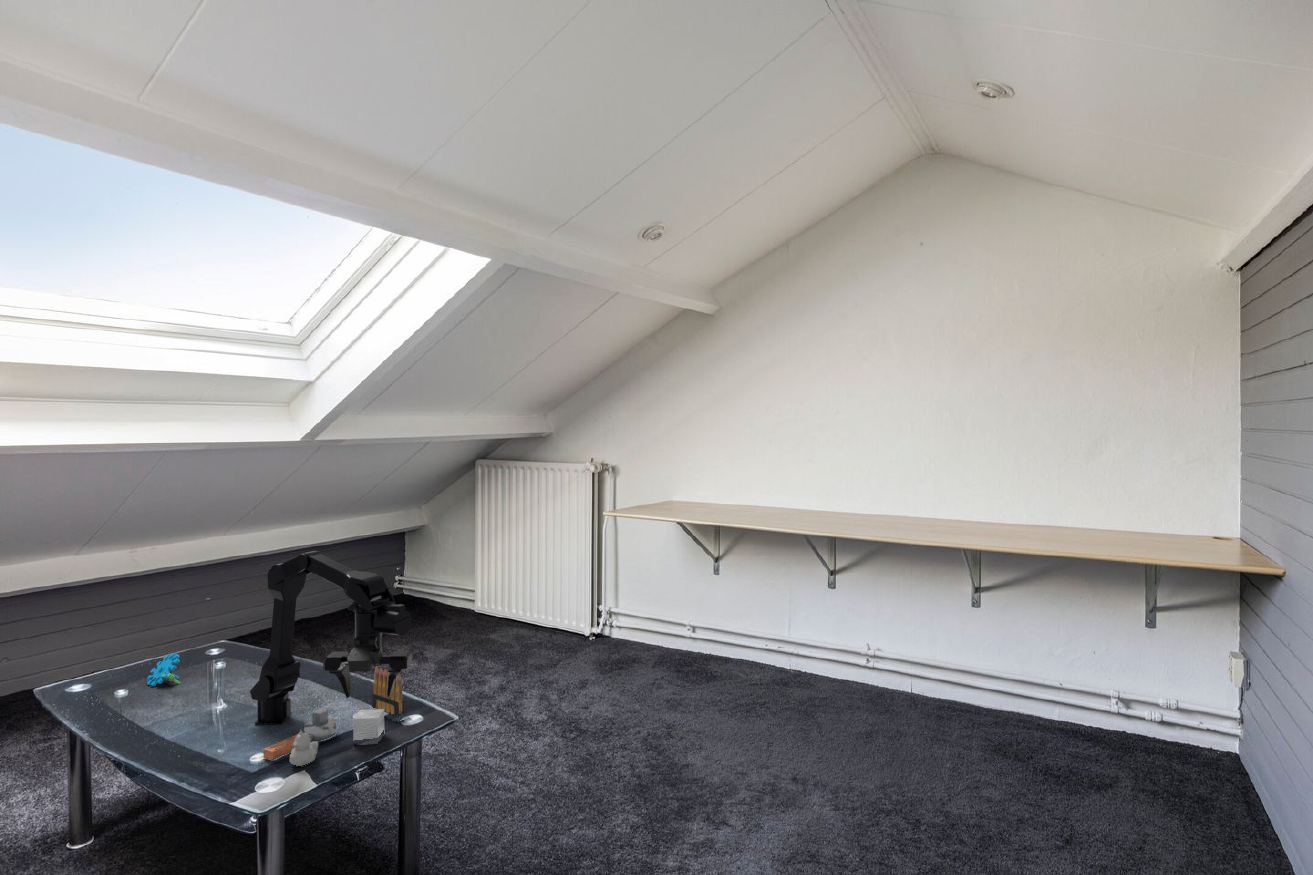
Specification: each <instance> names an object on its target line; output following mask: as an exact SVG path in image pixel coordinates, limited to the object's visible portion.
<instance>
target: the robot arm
mask: <svg viewBox="0 0 1313 875" xmlns="http://www.w3.org/2000/svg"><path fill="white" fill-rule="evenodd" d="M310 574H314V575H316V576H318V577H320V578H322V579H323V580H325V581H327V582H330V583H331V584H333V585H335V586H337V587H339V588H341V589H342V590H343V591H344V594H345V596H346V597H347V598H349V599H350V600H351V601H353V602H352V603H351V604H350V605H348V607H347V611H352V612H354V621H355V622H354V638H353V645H352V648H351V650H350V652H349V653H348V651H346V650H345V651H332V652H330V653H329V654H328V655H327V656H326V657H325V658H324V659H323V662H322V665H323V666H322V667H323V668H322V670H323V671H325V672H327V671H328V672H329V674H331V675H334V676H336V678H337V679H338V681H339V683H340V685H341V687H342V690H343V692H344V695H345V697H346V699H348V698H349V699H350V696H351V673H356V672H360V673H361V672H363V673H368V672H370V671H371V670H372V668H373V666H376V665H377V666H378V665H388V667H389V669H388V670H387V674H388V675H389V678H388V688H387V696H388V697H390V695H391V692H392V689H393V686H394V683H395V680H396V678H397V675H398V673H399V674H400V673H402V672H403V670H405V669H406V670H407V669H408V668H409V666H410V664H412V662H413V653H412V652H411V651H410V650H409V649H408V650H406V649H404V650H394V651H393V652H392V653H391V655H388V654H387V655H385V654H384V655H383V648H382V636H383V634H387V635H394V636H398V637H399V636H402V637H403V636H405V635H406V634H407V633H408V632H409V631H410V629H411V625H412V623H413V622H412V621H413V620H412V616H411V613H410V611H408V610H406V605H405V604H401V603H400V604H396V599H395V598H394V595H393V594H392V592H391V591H390V589H389V588H388V586H387V583H386V582H385V578H384V577H383V576H382V575H380V574H378V573H374V572H369V571H359V570H355V569H353V568H350V567H348V566H347V565H344V564H342V563H340V562H339V561H336V560H335V559H332V558H330V557H328V556H327V555H324V554H323V553H322V552H321V551H319V550H312V551H307V552H303V553H300V554H299V555H298V556H295V557H294V558H292V559H290V560H288V561H285V562H282V563H277V564H274V565H272V566H271V567H269V568H268V571H267V576H266V577H267V588H268V591H269V593H270V594H271V596H272V597H273V608H272V620H271V622H272V623H271V635H270V643H269V644H270V645H269V655H268V657H267V659H266V660H265V662H264V663H263V665H262V667H261V669H260V675H259V678H258V681H257V682H256V683H255V685H254V686H253V687H252V688H251V689H250V690H249V692H250V698H251V700H255V701H257V720H255V721H254V726H255V725H281V724H283V723H284V722H285V721H286V720H287V719H288V718H289V717H290V716H291V715H292V711H291V710H292V707H291V706H292V705H291V704H292V703H291V698H290V697H289V693H290V692H293V691H294V690H295V687H296V686H295V685H296V684H297V682H298V679H299V678H301V675H300V669H301V662H300V661H297V660H296V659H295V657H294V656H293V646H294V645H293V644H294V635H295V634H294V633H295V622H296V620H295V619H296V607H297V598H298V597H299V595H300V594H301V592H302V590H303V589H304V588H305V583H306V579H307V576H308V575H310Z"/></svg>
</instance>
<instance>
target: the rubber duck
mask: <svg viewBox="0 0 1313 875" xmlns="http://www.w3.org/2000/svg"><path fill="white" fill-rule="evenodd" d="M299 730H300V731H299V732H298V733H297V734H298V735H297V734H296V735H297V737H296V738H295V741H294V743H293V745H294V748H293V749H292V751H291V754H289V763H290V764H291V765H293V766H295V765H296V766H295V767H298V766H301V767H303V766H302V765H305V764H307V765H309V764H311V763H312V762H314V761H315V759H316V755H317V754H318V748H319V742H311V743H310V737H309V736H308V735H307V734H306V733H304V731H302V728H300V729H299ZM303 733H304V734H303ZM310 762H311V763H310ZM308 763H309V764H308ZM305 766H306V765H305Z"/></svg>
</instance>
